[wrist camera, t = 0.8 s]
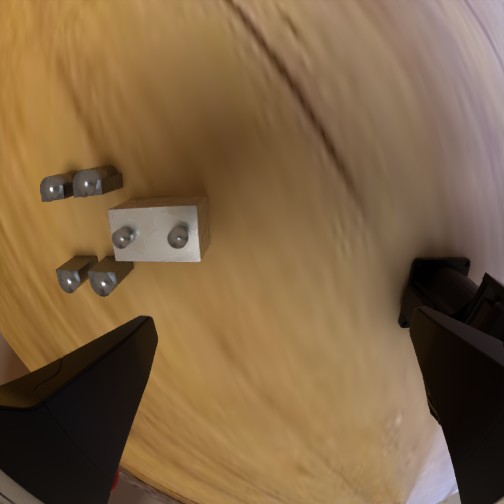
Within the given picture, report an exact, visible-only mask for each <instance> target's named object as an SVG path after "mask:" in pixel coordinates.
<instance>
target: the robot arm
mask: <svg viewBox="0 0 504 504" xmlns="http://www.w3.org/2000/svg"><path fill="white" fill-rule="evenodd" d="M418 263H420V264H419V266H417V264H418ZM465 263H466V264H465ZM469 267H470V260H469V259H468V258H466V257H465V258H416V259H415V260H414V261H413V263H412V268H411V273H410V278H409V282H408V284H407V287H406V291H405V295H404V299H403V303H402V307H401V314H400V318H399V322H398V323H399V325H400V327H401V328H409V327H410V329H409V332H410V337H411V340H412V343H413V346H414V349H415V353H416V356H417V360H418V363H419V366H420V369H421V372H422V376H423V380H424V385H425V390H426V396H427V401H428V406H429V409H430V413H431V415H432V416H433V417H434V418H435V419H436V420H437V421H438V423H439V425H441V427H442V430H443V433H444V436H445V440H446V443H447V446H448V450H449V453H450V457H451V461H452V464H453V468H454V470H455V471H454V473H455V477H456V481H457V485H458V490H459V495H460V500H461V504H497V503H498V502H499V501H501V500H503V499H504V284H502V283H501V282H499V281H498V280H496V279H495V278H493V277H492V276H490V275H489V274H487V273H486V272H485V274H484V276H483V278H482V279H483V281H482V283H481V284H480V286H477V285H476V284H475V283H474V282H473V281H471V280H470V279H469V278H468V277H467V275H468V271H469ZM404 321H405V322H404ZM403 322H404V323H403ZM157 343H158V335H157V332H156V328H155V324H154V321H153V318H152V317H151V316H142V315H141V316H138V317H136V318H134V319H133V320H131V321H129V322H127V323H125V324H123V325H121V326H119V327H118V328H116V329H114V330H112V331H110V332H108V333H106V334H104V335H103V336H101V337H99V338H97V339H95V340H93V341H91V342H89V343H88V344H86V345H84V346H82V347H80V348H78V349H76V350H74V351H73V352H71V353H69V354H67V355H65V356H63V358H59V359H57V360H56V361H54V362H52V363H50V364H48V365H46V366H44V367H42V368H40V369H38V370H35V371H33V372H31V373H29V374H26V375H24V376H22V377H20V378H17V379H15V380H13V381H10V382H8V383H6V384H3V385H0V504H107V503H108V500H109V496H110V493H111V489H112V486H113V482H114V479H115V476H116V472H117V469H118V466H119V463H120V460H121V456H122V453H123V450H124V447H125V444H126V441H127V438H128V435H129V432H130V429H131V426H132V423H133V421H134V418H135V415H136V412H137V409H138V406H139V404H140V401H141V398H142V395H143V393H144V390H145V387H146V384H147V382H148V379H149V375H150V371H151V367H152V363H153V359H154V355H155V351H156V347H157Z"/></svg>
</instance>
